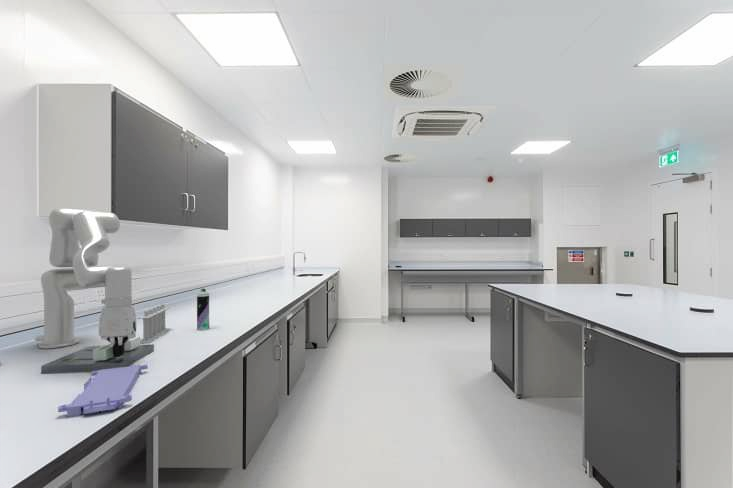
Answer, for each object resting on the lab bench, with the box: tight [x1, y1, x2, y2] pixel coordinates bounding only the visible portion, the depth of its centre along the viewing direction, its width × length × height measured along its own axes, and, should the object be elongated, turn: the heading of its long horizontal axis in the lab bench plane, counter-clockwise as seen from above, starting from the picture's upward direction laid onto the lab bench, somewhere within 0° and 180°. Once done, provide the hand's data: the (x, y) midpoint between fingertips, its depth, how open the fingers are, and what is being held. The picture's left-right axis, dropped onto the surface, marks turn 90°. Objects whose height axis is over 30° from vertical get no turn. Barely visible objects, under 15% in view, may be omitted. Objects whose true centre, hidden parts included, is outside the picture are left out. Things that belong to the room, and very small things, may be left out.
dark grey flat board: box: [40, 343, 155, 375], centre depth 126 cm, size 24×22×3 cm
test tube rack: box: [137, 303, 171, 345], centre depth 161 cm, size 25×4×13 cm, turn 11°
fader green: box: [93, 343, 113, 360], centre depth 121 cm, size 4×6×4 cm, turn 5°
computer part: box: [57, 364, 149, 418], centre depth 99 cm, size 30×4×15 cm
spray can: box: [196, 288, 210, 331], centre depth 174 cm, size 6×6×20 cm
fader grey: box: [125, 335, 141, 350], centre depth 132 cm, size 4×6×4 cm, turn 5°
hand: (118, 355), depth 121 cm, fingers closed
